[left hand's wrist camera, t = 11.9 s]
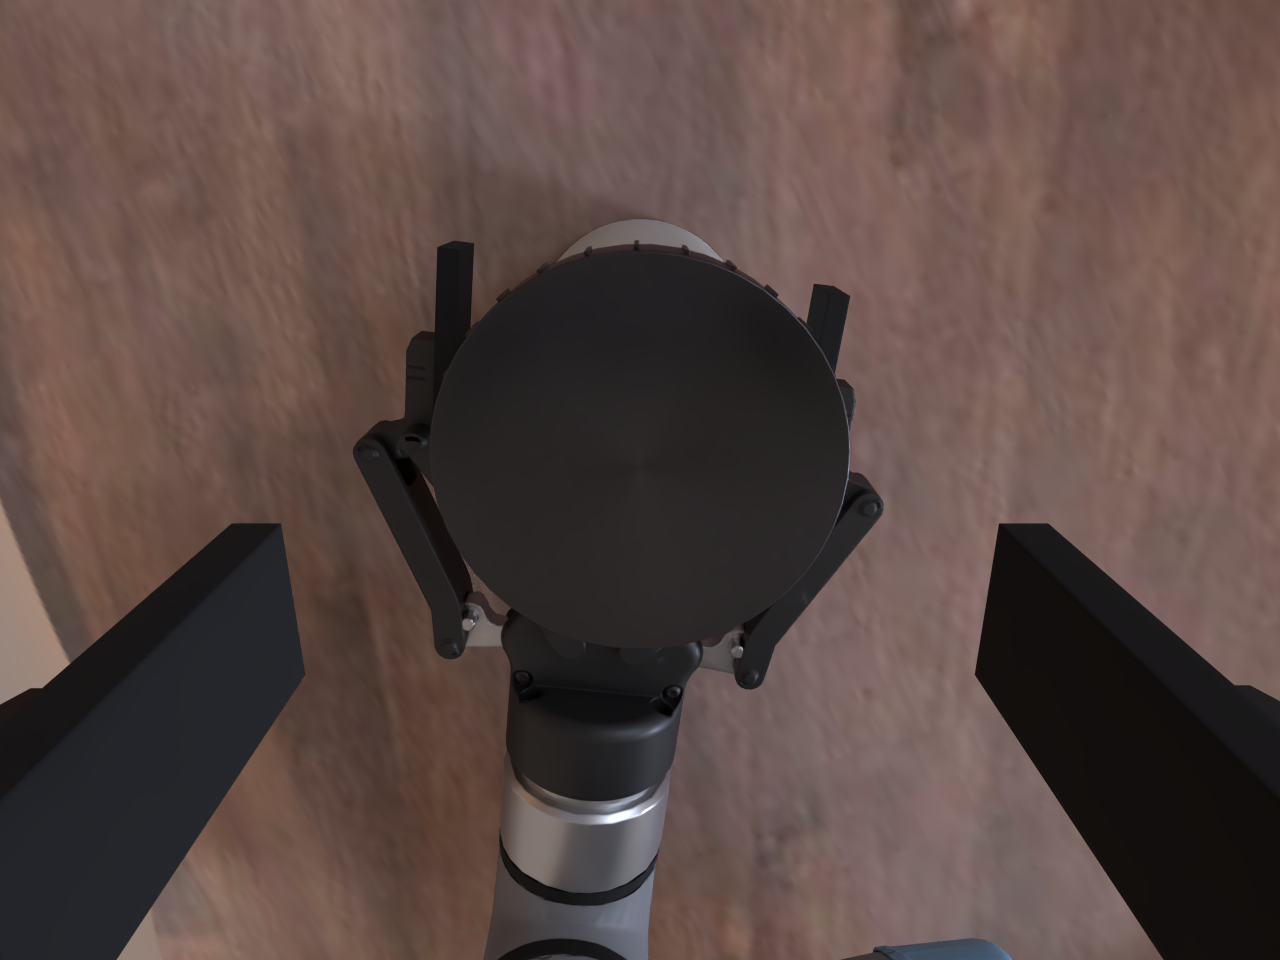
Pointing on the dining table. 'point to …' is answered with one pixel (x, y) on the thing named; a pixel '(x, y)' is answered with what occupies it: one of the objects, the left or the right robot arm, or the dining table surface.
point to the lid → (639, 447)
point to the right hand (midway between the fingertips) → (645, 266)
